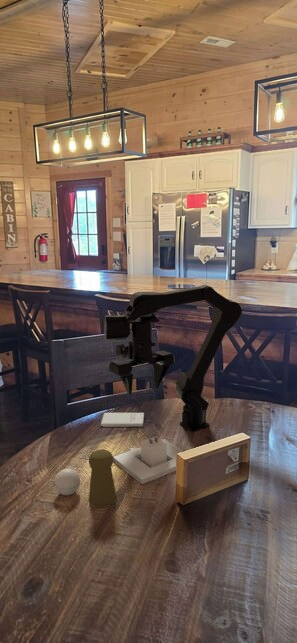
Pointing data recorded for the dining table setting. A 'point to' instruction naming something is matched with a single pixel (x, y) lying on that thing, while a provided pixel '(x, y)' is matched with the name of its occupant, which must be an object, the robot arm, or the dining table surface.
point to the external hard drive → (122, 420)
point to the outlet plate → (143, 471)
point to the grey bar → (126, 451)
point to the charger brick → (153, 451)
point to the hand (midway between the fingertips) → (143, 391)
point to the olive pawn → (101, 479)
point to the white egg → (67, 481)
